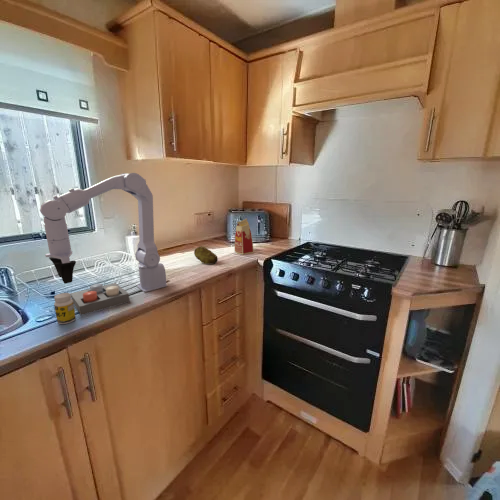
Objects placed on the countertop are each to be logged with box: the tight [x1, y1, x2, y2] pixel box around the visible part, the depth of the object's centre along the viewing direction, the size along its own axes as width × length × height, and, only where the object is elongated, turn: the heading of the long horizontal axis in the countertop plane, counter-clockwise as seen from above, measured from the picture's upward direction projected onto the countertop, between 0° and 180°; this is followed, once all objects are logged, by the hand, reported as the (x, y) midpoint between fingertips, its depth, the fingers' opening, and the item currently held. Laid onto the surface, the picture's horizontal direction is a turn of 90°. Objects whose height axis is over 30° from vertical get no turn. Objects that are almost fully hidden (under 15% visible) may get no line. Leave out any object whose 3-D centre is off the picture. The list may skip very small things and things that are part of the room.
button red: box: [83, 291, 98, 303], centre depth 91 cm, size 4×4×3 cm
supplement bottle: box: [53, 292, 77, 325], centre depth 82 cm, size 5×5×8 cm
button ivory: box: [106, 286, 119, 297], centre depth 96 cm, size 4×4×3 cm
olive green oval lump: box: [193, 246, 219, 265], centre depth 141 cm, size 8×13×8 cm, turn 43°
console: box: [69, 282, 130, 316], centre depth 96 cm, size 15×14×3 cm
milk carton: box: [234, 217, 254, 255], centre depth 159 cm, size 9×9×20 cm
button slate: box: [89, 283, 104, 293], centre depth 98 cm, size 4×4×3 cm
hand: (65, 279), depth 89 cm, fingers open, 7 cm apart
